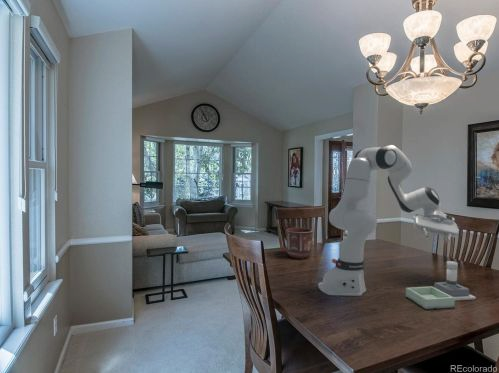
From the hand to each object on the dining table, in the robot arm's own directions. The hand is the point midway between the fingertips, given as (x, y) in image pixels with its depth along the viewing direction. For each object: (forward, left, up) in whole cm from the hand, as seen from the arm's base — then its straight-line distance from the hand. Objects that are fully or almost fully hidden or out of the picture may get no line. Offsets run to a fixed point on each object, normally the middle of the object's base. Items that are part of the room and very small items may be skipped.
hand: (437, 238), depth 150 cm
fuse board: (-1, -10, -24) cm, 26 cm away
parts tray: (-17, -16, -24) cm, 33 cm away
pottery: (-52, +61, -24) cm, 83 cm away
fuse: (-1, -10, -23) cm, 25 cm away
